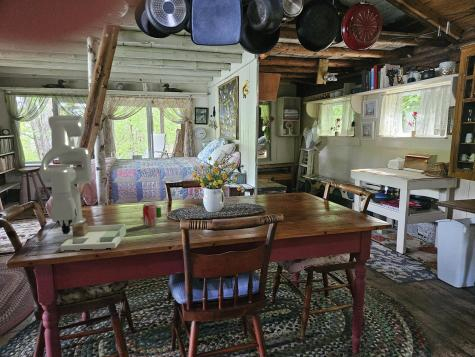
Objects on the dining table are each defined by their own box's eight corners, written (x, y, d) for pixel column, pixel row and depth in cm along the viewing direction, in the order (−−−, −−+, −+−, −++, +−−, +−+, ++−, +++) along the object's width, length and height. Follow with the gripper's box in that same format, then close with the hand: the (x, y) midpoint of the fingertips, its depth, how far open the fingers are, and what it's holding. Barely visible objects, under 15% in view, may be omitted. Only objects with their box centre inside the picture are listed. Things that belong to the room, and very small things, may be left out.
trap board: (60, 251, 133) (59, 240, 132) (78, 236, 151) (77, 226, 150) (115, 248, 135) (114, 237, 134) (126, 233, 154) (125, 224, 153)
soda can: (145, 223, 170) (143, 202, 168) (158, 222, 171) (156, 202, 169) (142, 227, 163) (140, 205, 161) (155, 226, 164) (154, 205, 162)
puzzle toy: (159, 214, 188) (158, 205, 187) (161, 217, 183) (160, 207, 182) (149, 216, 185) (148, 206, 184) (151, 218, 180) (150, 208, 179)
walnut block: (73, 236, 143) (72, 226, 142) (77, 233, 148) (76, 223, 147) (84, 236, 144) (83, 226, 143) (88, 232, 149) (87, 222, 148)
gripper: (41, 198, 137) (45, 236, 140) (75, 196, 139) (79, 235, 142) (49, 194, 145) (53, 231, 148) (82, 193, 146) (85, 230, 149)
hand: (66, 233), depth 145 cm, fingers closed
